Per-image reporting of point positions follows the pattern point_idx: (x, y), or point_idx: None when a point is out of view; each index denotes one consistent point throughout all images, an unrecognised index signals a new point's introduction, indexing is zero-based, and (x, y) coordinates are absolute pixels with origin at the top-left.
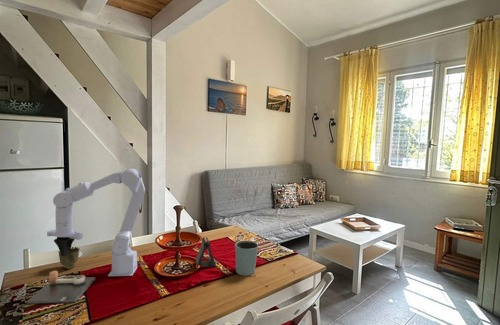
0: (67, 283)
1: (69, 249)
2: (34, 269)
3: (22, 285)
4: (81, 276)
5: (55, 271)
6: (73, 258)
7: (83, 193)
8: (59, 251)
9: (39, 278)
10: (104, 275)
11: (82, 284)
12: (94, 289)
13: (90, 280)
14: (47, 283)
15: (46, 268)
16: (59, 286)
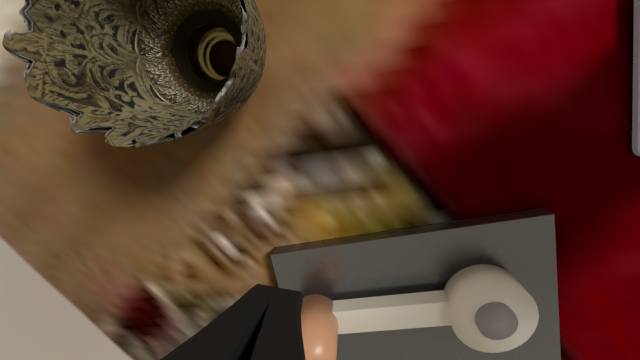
0: None
1: (301, 343)
2: (25, 122)
3: (150, 302)
4: (515, 319)
5: (309, 356)
6: (254, 79)
7: None
8: (31, 72)
9: (165, 227)
10: (587, 137)
11: None
12: (601, 318)
13: (542, 259)
14: None
15: None
16: (380, 338)
